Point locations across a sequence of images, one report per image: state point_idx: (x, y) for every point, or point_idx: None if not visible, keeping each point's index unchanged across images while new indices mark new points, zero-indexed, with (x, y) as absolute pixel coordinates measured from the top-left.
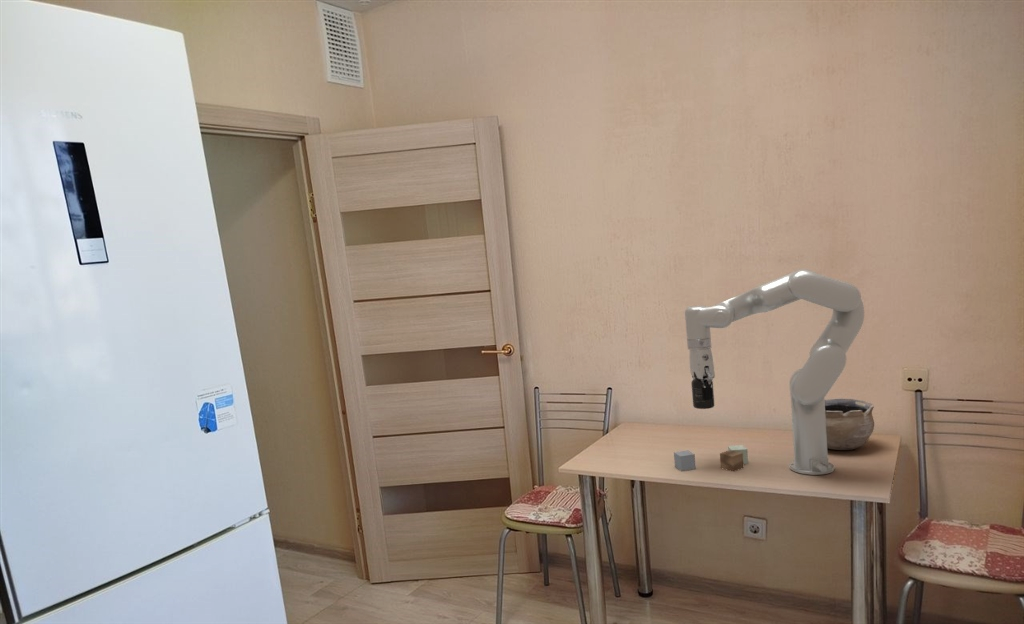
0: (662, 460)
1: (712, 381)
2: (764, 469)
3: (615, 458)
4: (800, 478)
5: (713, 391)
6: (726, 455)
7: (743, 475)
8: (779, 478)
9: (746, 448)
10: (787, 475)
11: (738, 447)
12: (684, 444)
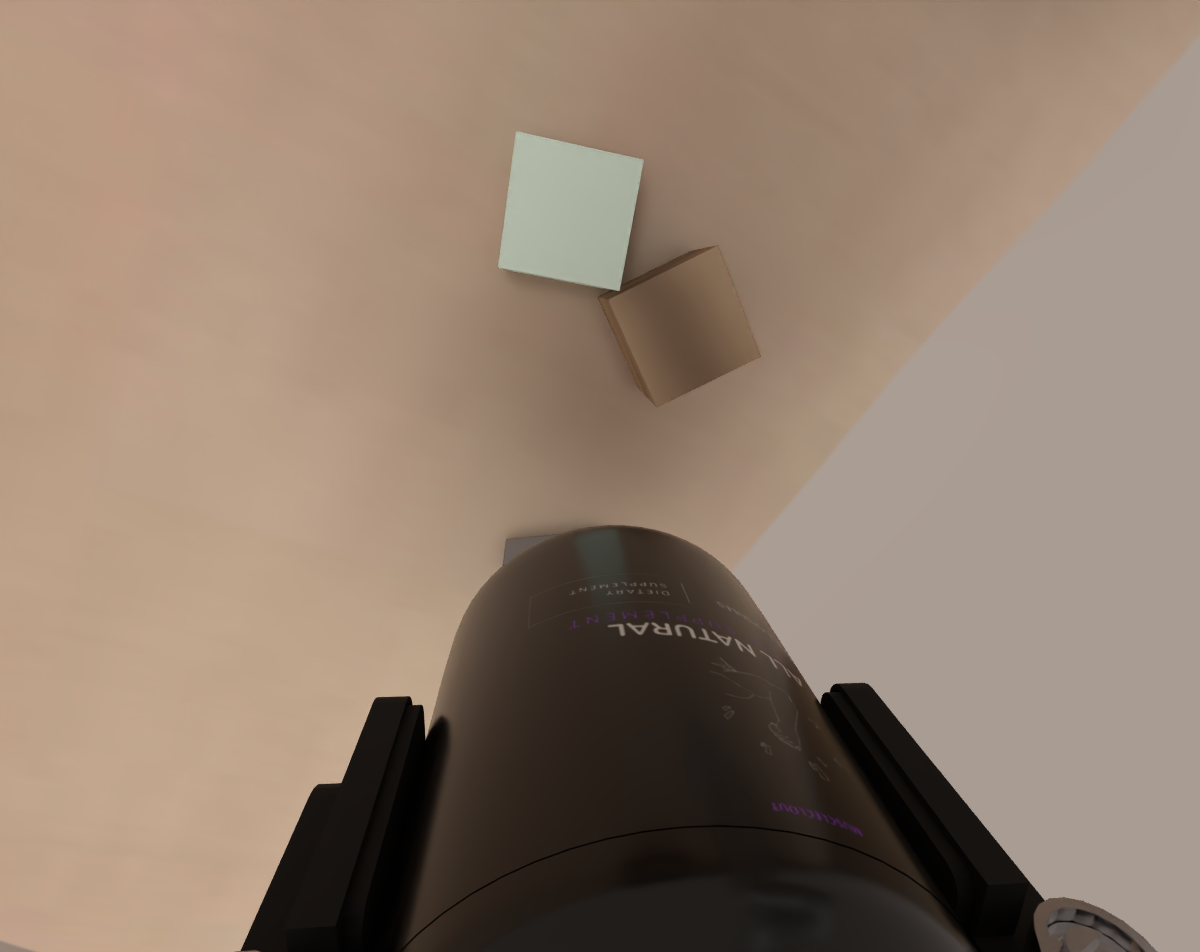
0: (369, 651)
1: (890, 916)
2: (775, 136)
3: (250, 865)
4: (1027, 8)
5: (767, 676)
6: (711, 379)
7: (818, 322)
8: (962, 141)
9: (620, 155)
10: (942, 56)
11: (569, 204)
12: (2, 409)
